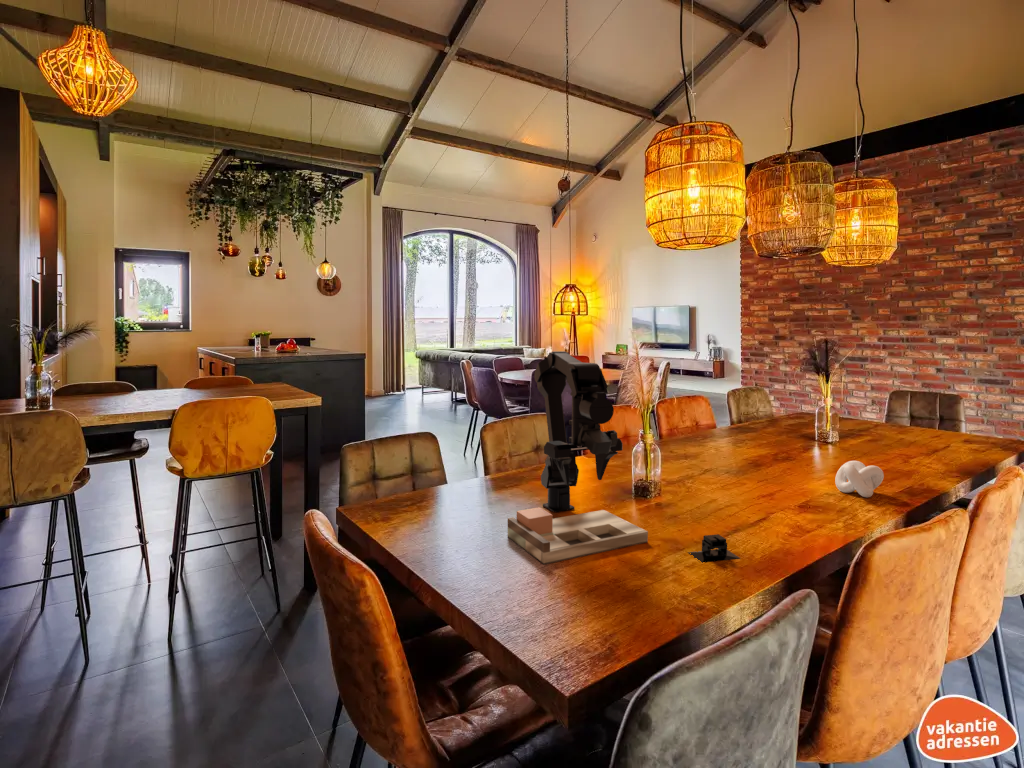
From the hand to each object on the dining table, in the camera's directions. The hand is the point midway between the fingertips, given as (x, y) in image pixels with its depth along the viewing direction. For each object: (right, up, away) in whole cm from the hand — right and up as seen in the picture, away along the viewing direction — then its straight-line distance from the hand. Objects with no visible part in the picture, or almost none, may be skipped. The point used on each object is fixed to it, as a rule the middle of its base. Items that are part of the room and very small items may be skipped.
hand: (583, 482), depth 133 cm
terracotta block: (-12, -10, -5) cm, 16 cm away
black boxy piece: (+26, -14, -13) cm, 33 cm away
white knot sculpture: (+84, -9, +32) cm, 90 cm away
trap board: (-2, -12, -4) cm, 13 cm away
